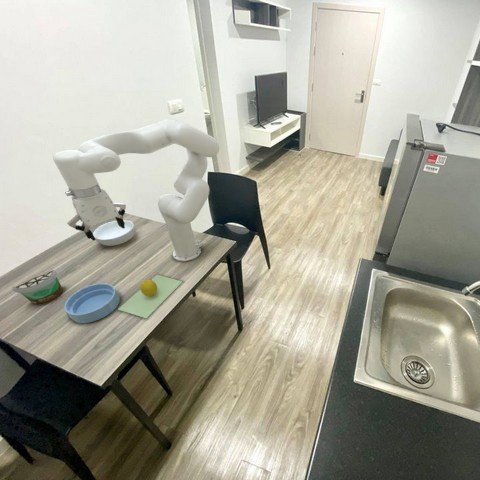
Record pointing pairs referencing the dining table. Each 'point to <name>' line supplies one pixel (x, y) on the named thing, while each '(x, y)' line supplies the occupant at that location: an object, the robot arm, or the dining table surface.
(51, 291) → the food container
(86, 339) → the dining table surface
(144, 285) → the lemon
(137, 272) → the dining table surface
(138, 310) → the napkin
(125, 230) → the cereal bowl
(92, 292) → the bowl
